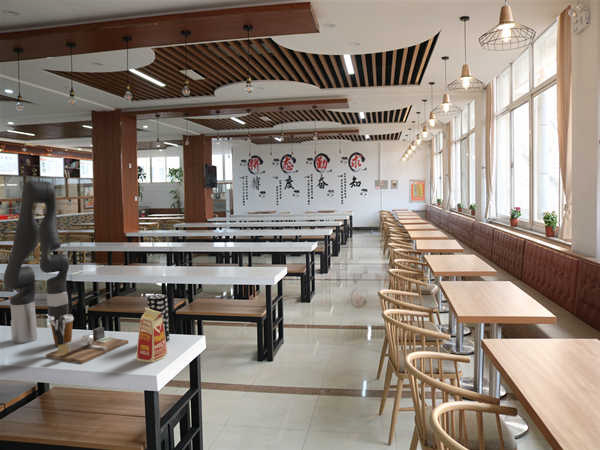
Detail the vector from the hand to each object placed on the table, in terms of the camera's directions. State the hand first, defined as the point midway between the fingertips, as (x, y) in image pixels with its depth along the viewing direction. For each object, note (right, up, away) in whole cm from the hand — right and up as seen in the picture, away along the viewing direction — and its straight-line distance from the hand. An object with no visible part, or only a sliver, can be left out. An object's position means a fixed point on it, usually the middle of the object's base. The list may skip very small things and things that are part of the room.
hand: (60, 344), depth 184 cm
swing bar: (+8, -1, -2) cm, 8 cm away
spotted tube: (+37, -2, +12) cm, 39 cm away
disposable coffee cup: (-5, -3, +12) cm, 13 cm away
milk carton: (+40, -4, -7) cm, 41 cm away
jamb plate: (+10, -3, +4) cm, 11 cm away
